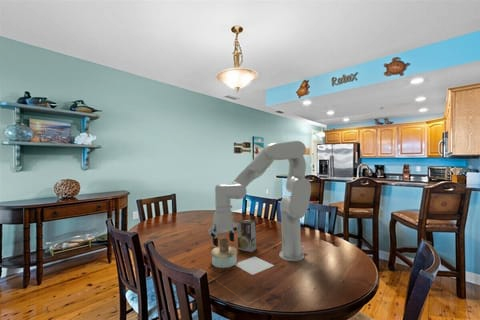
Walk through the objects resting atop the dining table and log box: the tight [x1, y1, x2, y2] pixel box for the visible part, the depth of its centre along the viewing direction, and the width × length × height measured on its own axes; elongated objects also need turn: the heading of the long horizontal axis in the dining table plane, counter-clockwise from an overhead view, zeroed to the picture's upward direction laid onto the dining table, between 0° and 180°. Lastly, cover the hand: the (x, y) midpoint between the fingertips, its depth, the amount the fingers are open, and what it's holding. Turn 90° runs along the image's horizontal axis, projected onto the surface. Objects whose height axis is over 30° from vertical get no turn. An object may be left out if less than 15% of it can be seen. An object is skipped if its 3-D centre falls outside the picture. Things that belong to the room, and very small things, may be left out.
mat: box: [234, 256, 275, 276], centre depth 115 cm, size 14×14×1 cm
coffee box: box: [236, 219, 257, 253], centre depth 136 cm, size 9×6×16 cm
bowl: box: [211, 254, 238, 269], centre depth 119 cm, size 12×12×5 cm
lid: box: [210, 237, 238, 258], centre depth 119 cm, size 13×13×7 cm
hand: (223, 243), depth 119 cm, fingers open, 9 cm apart
